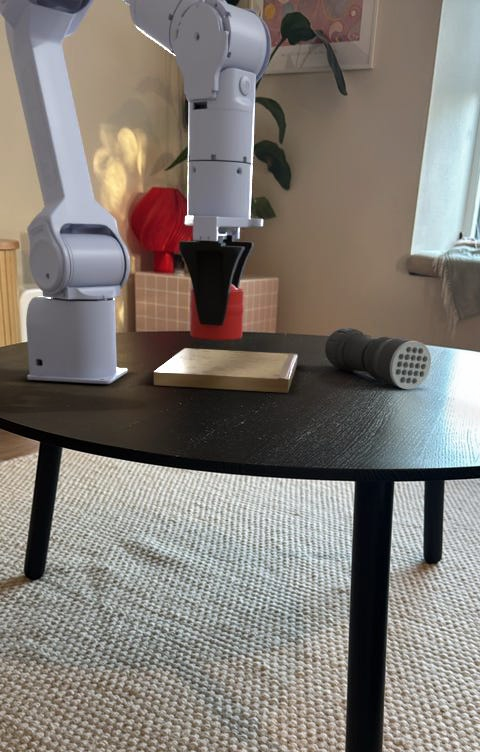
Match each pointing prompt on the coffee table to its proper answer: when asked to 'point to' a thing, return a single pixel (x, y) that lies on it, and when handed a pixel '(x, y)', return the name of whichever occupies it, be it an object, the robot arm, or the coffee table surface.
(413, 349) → the flashlight
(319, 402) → the coffee table surface
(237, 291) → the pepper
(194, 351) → the board
